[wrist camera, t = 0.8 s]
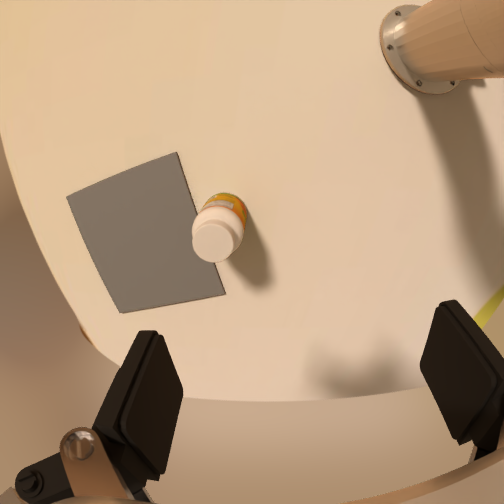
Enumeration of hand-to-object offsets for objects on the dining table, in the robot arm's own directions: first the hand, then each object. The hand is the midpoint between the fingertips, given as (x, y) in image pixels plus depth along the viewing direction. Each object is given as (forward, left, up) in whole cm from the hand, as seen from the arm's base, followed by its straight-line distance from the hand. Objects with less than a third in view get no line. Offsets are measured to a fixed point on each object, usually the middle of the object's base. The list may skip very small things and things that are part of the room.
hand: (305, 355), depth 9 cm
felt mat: (+20, +3, -28) cm, 34 cm away
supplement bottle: (+7, +2, -28) cm, 29 cm away
